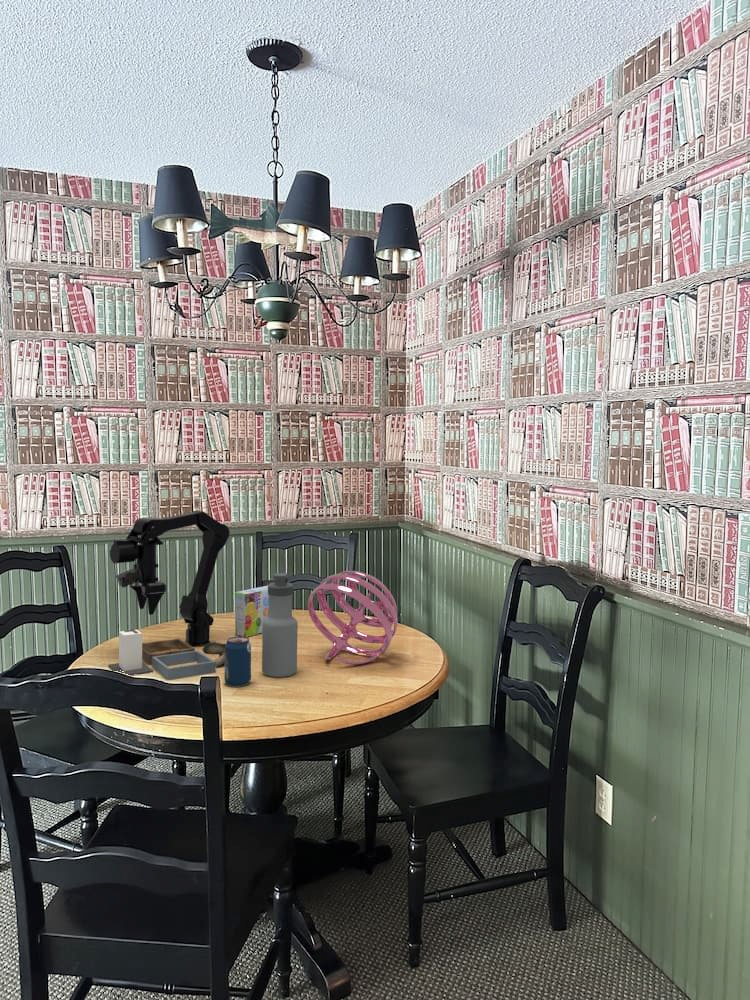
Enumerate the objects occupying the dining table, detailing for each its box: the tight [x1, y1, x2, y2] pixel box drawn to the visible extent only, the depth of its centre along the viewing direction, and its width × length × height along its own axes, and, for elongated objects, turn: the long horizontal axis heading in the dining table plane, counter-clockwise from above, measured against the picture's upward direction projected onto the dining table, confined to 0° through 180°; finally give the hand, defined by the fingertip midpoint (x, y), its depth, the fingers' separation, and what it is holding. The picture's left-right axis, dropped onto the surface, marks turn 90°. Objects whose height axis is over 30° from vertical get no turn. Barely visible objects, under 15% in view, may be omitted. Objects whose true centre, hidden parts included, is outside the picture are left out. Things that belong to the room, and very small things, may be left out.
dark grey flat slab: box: [107, 661, 154, 676], centre depth 206 cm, size 9×12×1 cm
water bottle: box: [261, 572, 299, 678], centre depth 205 cm, size 10×10×28 cm
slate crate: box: [151, 649, 217, 681], centre depth 206 cm, size 14×14×3 cm
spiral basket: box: [307, 570, 398, 666], centre depth 219 cm, size 28×28×27 cm
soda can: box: [224, 636, 252, 688], centre depth 195 cm, size 7×7×12 cm
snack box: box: [234, 585, 269, 638], centre depth 253 cm, size 21×6×15 cm, turn 144°
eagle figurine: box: [201, 641, 226, 668], centre depth 213 cm, size 8×7×9 cm
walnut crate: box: [142, 638, 196, 666], centre depth 219 cm, size 14×14×3 cm
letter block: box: [118, 629, 143, 671], centre depth 205 cm, size 5×5×10 cm
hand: (146, 611), depth 220 cm, fingers open, 9 cm apart
